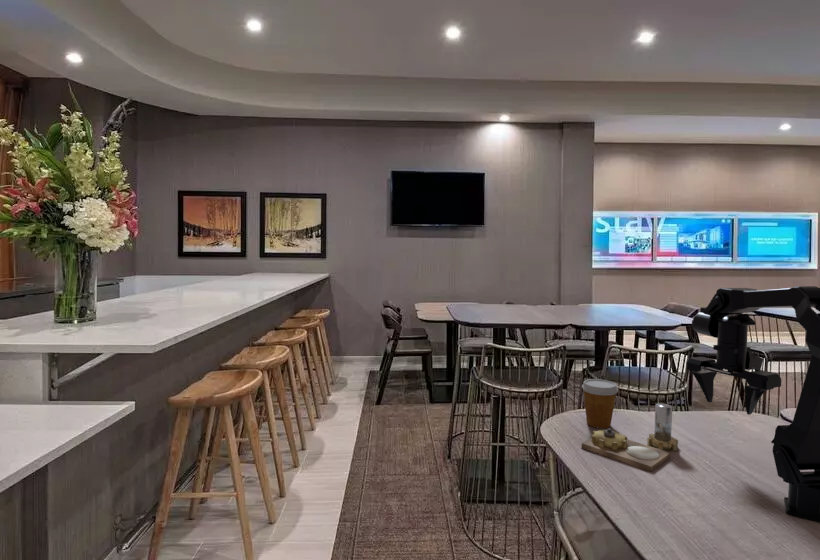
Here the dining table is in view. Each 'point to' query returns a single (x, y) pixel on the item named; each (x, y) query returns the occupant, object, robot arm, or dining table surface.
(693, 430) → the dining table surface
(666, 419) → the pinion
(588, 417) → the disposable coffee cup
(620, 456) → the gear board
